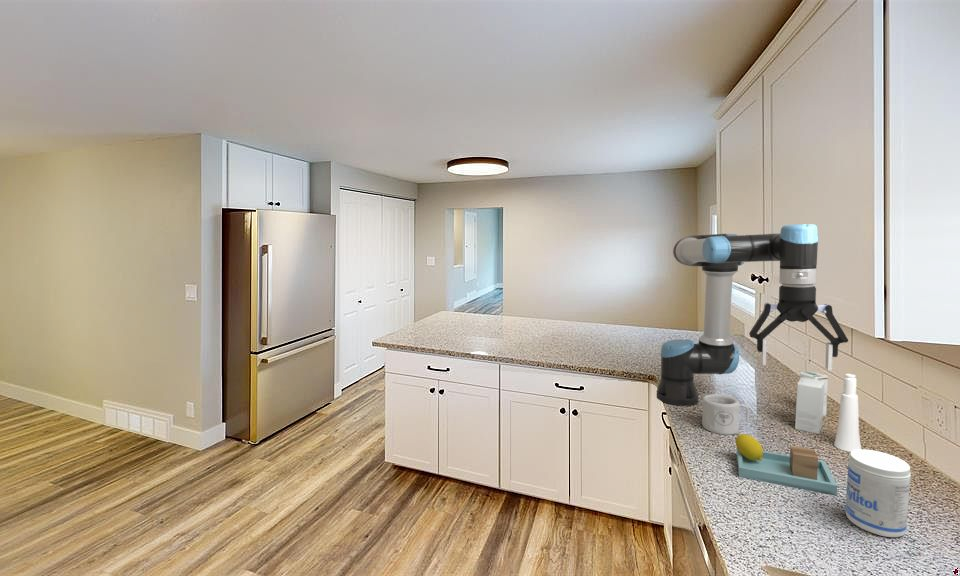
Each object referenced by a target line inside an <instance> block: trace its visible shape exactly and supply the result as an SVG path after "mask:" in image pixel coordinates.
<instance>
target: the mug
mask: <svg viewBox="0 0 960 576" xmlns="http://www.w3.org/2000/svg"><path fill="white" fill-rule="evenodd" d="M701 401H702V402H701V404H702V405H701V406H702V415H701V417H702V418H701V420H702V421H701V426H702V427H703V428H704V429H705V430H706V431H709V432H711V433H714V434H719V435H724V436H725V435H726V436H728V435H729V436H730V435H734V434H738V433H739V432H740V425H741V426H742V425H743V426H744V425H748V424H749V422H750V408H749V407H750V406H748V405H746V404H742V403H740V401H739V400H738V399H737V398H735V397H733V396H730V395H727V394H726V395H725V394H720V393H718V394H717V393H714V394H713V393H712V394H706V395H703V396H702V400H701ZM740 407H742V408H745V409H746V410H745V411H746V412H745V417H746V418H745V421H744V422H743V421H742V422H741V421H740Z"/></svg>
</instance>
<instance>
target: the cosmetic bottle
mask: <svg viewBox="0 0 960 576" xmlns="http://www.w3.org/2000/svg"><path fill="white" fill-rule="evenodd" d="M842 390H843V392H842V393H841V396H840V404H839V411H838V412H839V413H838V415H839V416H838V422H837V423H838V425H837V430H836V436H835V440H834V444H833V445H834V447H835V448H836V449H838V450H841V451H844V452H848V453H851V451H853V450H858V449H862V445H861V440H860V422H859V418H860V417H859V415H860V414H859V396H858V394H857V378H856V374H852V373H845V374H844V378H843V389H842Z"/></svg>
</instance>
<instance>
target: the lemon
mask: <svg viewBox="0 0 960 576" xmlns="http://www.w3.org/2000/svg"><path fill="white" fill-rule="evenodd" d="M735 446H736V449H737V448H738V450H739V451H740V453H741V454H742V455H743V456H745V457H746V458H748V459H750V460H759V461H761V460H762V455H763V451H764V449H763V447H762V445H761V443H760V442H759V441H758V440H757V439H756V438H755V437H753V436H751V435H749V434H746V433H743V434H738V433H737V435H736V438H735Z"/></svg>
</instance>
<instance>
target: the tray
mask: <svg viewBox="0 0 960 576" xmlns="http://www.w3.org/2000/svg"><path fill="white" fill-rule="evenodd" d="M736 462H737V471H738V477H739V478H744V479H748V480H755V481H758V482H759V481H760V482H765V483H770V484H775V485H779V486H785V487H789V488H796V489H799V490H801V489H802V490H806V491H811V492H815V493H821V494H826V495H831V496H838V484H837V482H836V481H835V479H834V477H833V474H832V472H831V470H830V468H829V466H828V465H827V462H826V461H825V460H821V459H818V473H817V480H813V479H808V478H802V477H797V476H792V473H791V470H790V454H784V453H779V452H778V453H777V452H773V451H772V452H771V451H766V450H763V455H762V460H761V461H759V460H750V459H748V458H746V457H745V456H743V455H742V454H741V453H740V451H739V450H738V448H737V447H736Z"/></svg>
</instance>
